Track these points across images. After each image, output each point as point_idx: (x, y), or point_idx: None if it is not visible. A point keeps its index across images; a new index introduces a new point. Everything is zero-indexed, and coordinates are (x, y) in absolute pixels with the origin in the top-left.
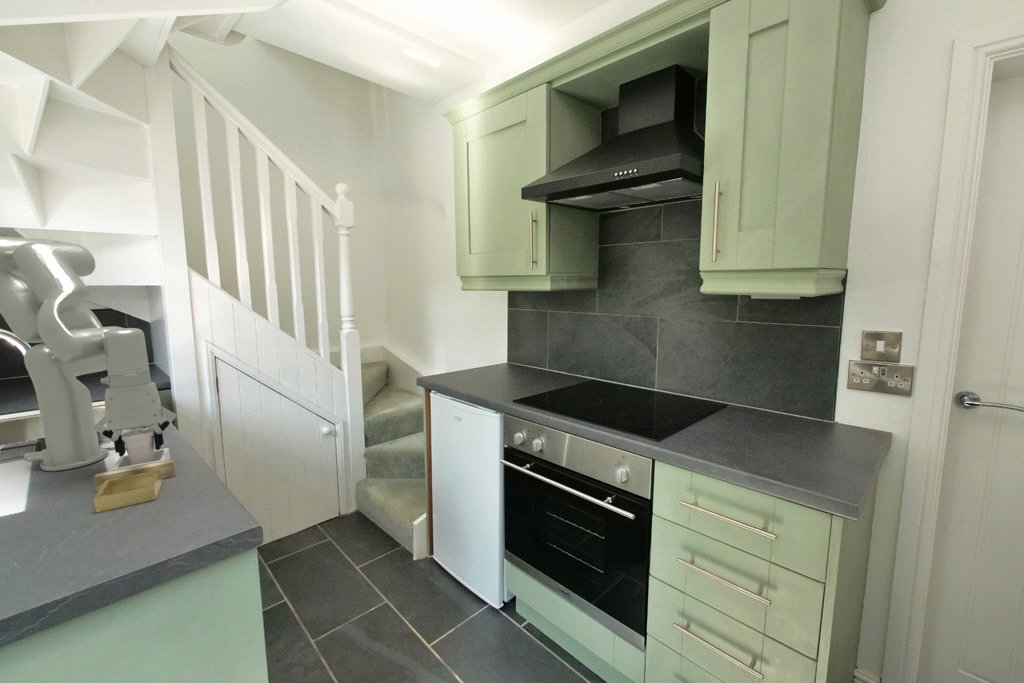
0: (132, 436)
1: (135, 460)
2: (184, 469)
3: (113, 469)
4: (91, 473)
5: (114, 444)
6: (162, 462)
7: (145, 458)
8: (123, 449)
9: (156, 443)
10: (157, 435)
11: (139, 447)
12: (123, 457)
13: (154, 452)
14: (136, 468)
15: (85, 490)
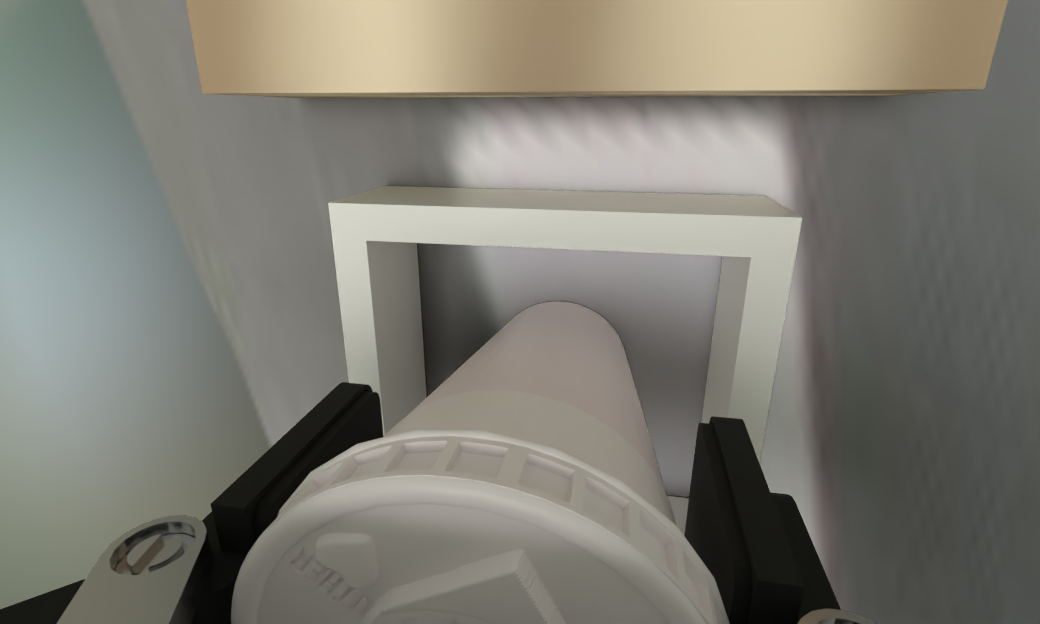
0: (516, 510)
1: (585, 345)
2: (255, 159)
3: (785, 232)
4: (932, 550)
5: (828, 582)
6: (294, 56)
7: (497, 341)
8: (700, 512)
9: (319, 421)
10: (227, 502)
11: (496, 389)
12: None
13: None
14: (536, 1)
15: (1001, 127)
